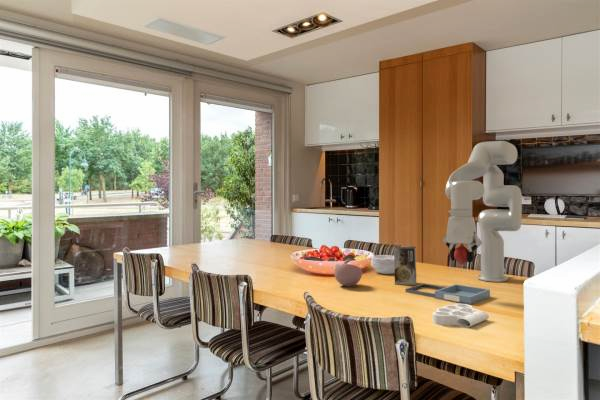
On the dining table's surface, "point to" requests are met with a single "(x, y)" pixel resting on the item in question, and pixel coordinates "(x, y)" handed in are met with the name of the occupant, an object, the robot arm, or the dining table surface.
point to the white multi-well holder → (459, 315)
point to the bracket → (413, 290)
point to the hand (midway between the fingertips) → (461, 260)
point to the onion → (461, 254)
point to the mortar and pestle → (347, 274)
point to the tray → (462, 294)
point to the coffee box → (405, 265)
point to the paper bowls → (383, 264)
